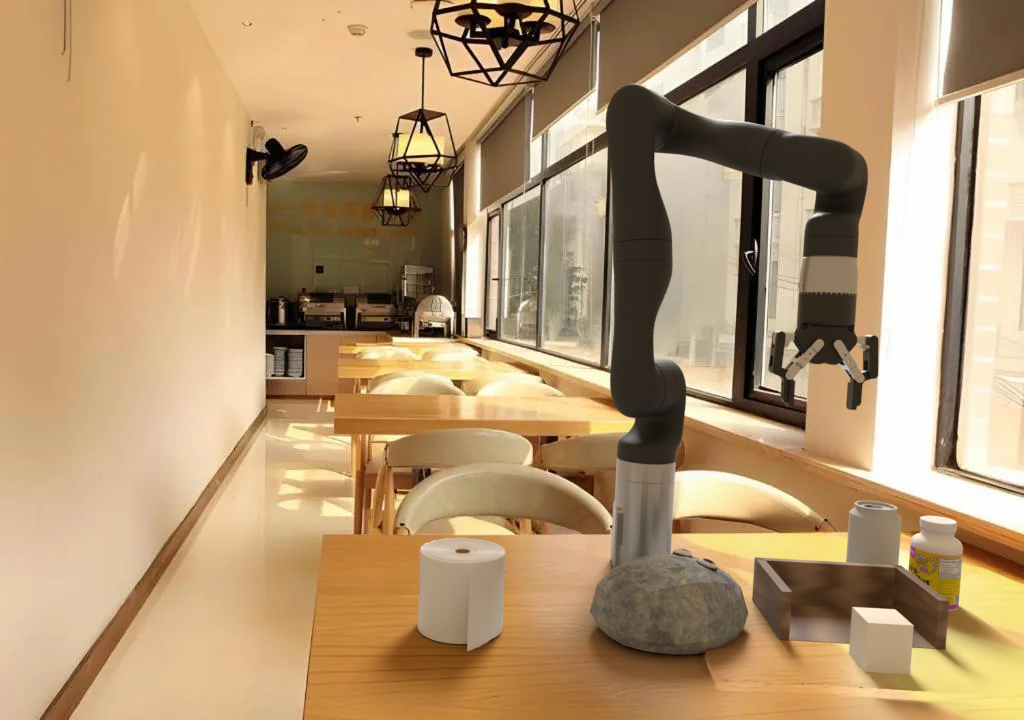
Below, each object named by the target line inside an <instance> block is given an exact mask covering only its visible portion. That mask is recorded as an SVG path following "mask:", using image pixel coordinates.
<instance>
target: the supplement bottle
mask: <svg viewBox="0 0 1024 720" xmlns="http://www.w3.org/2000/svg"><path fill="white" fill-rule="evenodd" d="M957 526H958V522H957V521H956V520H954V519H952V518H948V517H945V516H938V515H923V516H920V517H919V527H920V532H918V533H916V534H914V535H913V536H912V537H911V539H910V547H909V558H908V561H909V562H908V569H907V570H908V571H909V572H910V573H912V574H913V575H915V576H916V577H917V578H919V579H920V580H921V581H923V582H924V583H925V584H927V585H928V586H929V587H931V588H932V589H934V590H935V591H936V592H938V593H939V594H940V595H942V596H943V597H944V598H946V599H947V600H948V601H949V609H948V612H955V611H958V609H959V604H960V592H961V578H962V568H963V567H962V565H963V564H962V563H963V554H964V546H963V544H962V542H961V541H960V540H959V539H957V538H956V537H955V534H956V532H957V530H958V527H957Z"/></svg>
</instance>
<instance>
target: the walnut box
mask: <svg viewBox="0 0 1024 720" xmlns="http://www.w3.org/2000/svg"><path fill="white" fill-rule="evenodd" d="M753 563H754V564H753V579H752V581H753V582H752V599H751V600H752V602H753V603H754V604H755V605H756V608H757V609H758V610H759V612H760V613H761V616H763V618H764V619H765V621H766V622H767V624H768V625H769V627H770V628H771V630H772V631H773V633H774V634H775V635H776V637H777V639H778V640H779V641H781V640H783V641H798V642H799V641H800V642H813V643H830V644H831V643H833V644H848V645H850V632H851V617H852V607H862V608H880V609H895V610H896V611H898V612H899V613H900V614H901V615H902V616H903V617H904V618H906V619H907V620H908V621H909V622H910V623H911V624H912V625H914V627H913V641H912V649H913V648H915V649H931V650H946V648H947V647H946V646H947V636H948V635H947V634H948V623H949V622H948V620H949V611H948V609H949V601H948V600H947V599H946V598H944V597H943V596H942V595H940V594H939V593H938V592H936V591H935V590H934V589H932V588H931V587H929V586H928V585H927V584H925V583H924V582H923V581H921V580H920V579H919V578H917V577H916V576H915V575H913V574H912V573H910V572H909V571H908V570H909V569H906V567H904V566H902V565H901V564H898V565H885V564H867V563H849V562H846V561H845V562H844V561H827V560H811V559H795V558H794V559H792V558H776V557H773V558H772V557H756V556H755V557H754V562H753Z"/></svg>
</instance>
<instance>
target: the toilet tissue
mask: <svg viewBox="0 0 1024 720" xmlns="http://www.w3.org/2000/svg"><path fill="white" fill-rule="evenodd" d="M419 552H420V553H419V573H418V574H419V575H418V576H419V582H418V601H417V603H418V604H417V605H418V609H417V630H418V632H419V633H420V634H421V635H422V636H424V637H426V638H428V639H429V640H433V641H436V642H440V643H445V644H453V645H467V646H466V647H467V648H466V652H469V651H472V650H474V649H477V648H480V647H481V646H483V645H485V644H487V643H488V642H489V641H491V640H492V639H494V638H496V637H498V636H499V635H500V634H501V633H502V630H503V623H504V619H503V618H504V617H503V615H504V597H505V596H504V593H505V582H506V581H505V574H506V569H505V568H506V549H505V548H504V547H503V546H501V545H500V544H498V543H495V542H494V541H493V542H492V541H488V540H484V539H478V538H468V537H467V538H465V537H456V538H455V537H453V538H452V537H451V538H449V537H446V538H442V539H435V540H431V541H430V542H425V543H424V544H423V545H421V546H420V551H419Z"/></svg>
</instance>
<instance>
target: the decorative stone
mask: <svg viewBox="0 0 1024 720" xmlns="http://www.w3.org/2000/svg"><path fill="white" fill-rule="evenodd" d="M589 613H590V614H591V616H592V618H593V619H594V621H595V623H596V625H597V626H598V628H600V629H601V631H602V632H603V633H605V635H607V637H609V638H610V639H612V640H613V641H616V642H617V643H619V644H620V645H622V646H625V647H628V648H633V649H636V650H640V651H643V652H651V653H659V654H667V655H698V654H703V653H706V650H710V649H715V648H716V649H717V648H719V647H723V646H725V645H727V644H729V643H731V642H732V641H734V640H736V639H738V637H739V635H740V634H741V631H742V630H743V629H744V627H745V625H746V623H747V619H748V616H749V611H748V606H747V603H746V599H745V596H744V594H743V589H742V587H741V586H740V585H739V583H738V582H737V581H736V580H735V579H734V578H733V577H732V576H731V574H729V573H728V572H726V571H724V570H723V569H721V568H720V567H719V566H718V565H717V564H716V563H715V561H713V560H711V559H709V558H703V557H700V558H699V557H696V556H693V553H692V552H691V551H690V550H687V549H685V548H676V549H674V550H672V552H671V553H667V554H652V555H648V556H644V557H640V558H636V559H633V560H630V561H627V562H624V563H622V564H620V565H618V566H616V567H614V568H613V567H612V568H611V569H610V570H609V571H607V573H606V574H605V575H604V576H603V577H602V578H600V580H599V581H598V582H597V584H596V587H595V590H594V595H593V598H592V603H591V605H590V609H589Z"/></svg>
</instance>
